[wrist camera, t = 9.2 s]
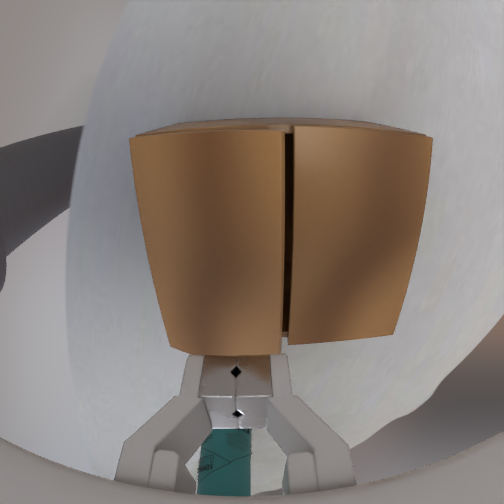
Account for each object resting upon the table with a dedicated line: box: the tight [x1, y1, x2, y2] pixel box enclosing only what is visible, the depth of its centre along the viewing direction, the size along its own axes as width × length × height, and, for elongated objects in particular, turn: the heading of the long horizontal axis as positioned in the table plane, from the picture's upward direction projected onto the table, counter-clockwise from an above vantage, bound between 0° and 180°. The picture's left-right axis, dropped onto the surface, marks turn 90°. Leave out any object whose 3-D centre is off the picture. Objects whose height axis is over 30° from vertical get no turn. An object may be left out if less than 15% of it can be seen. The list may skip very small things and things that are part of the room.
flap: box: [129, 130, 285, 356], centre depth 14 cm, size 7×13×1 cm, turn 1°
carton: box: [135, 118, 433, 345], centre depth 20 cm, size 15×13×10 cm
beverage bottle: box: [197, 428, 252, 496], centre depth 29 cm, size 6×7×20 cm
